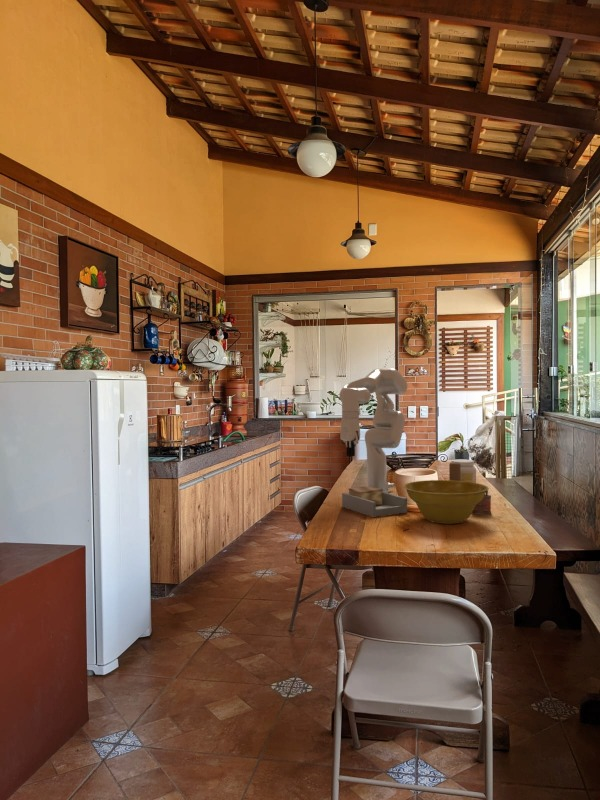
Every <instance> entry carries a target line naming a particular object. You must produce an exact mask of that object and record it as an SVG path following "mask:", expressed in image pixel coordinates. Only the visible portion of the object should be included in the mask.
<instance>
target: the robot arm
mask: <svg viewBox="0 0 600 800" xmlns="http://www.w3.org/2000/svg"><path fill="white" fill-rule="evenodd" d="M407 391H408V382H407V379H406V378H405V377H404V376H403V375H402V374H401V372H400V371H399V370H397V369H395V368H392V367H391V368H389V367H386V368H383V367H382V368H376V369H373V370H372V371H370V372H369V373H368V374H367V375H366V376H365V377H363V378H359V379H357V380H354V381H351V382H348V383H347V384H346V385H344V386H343V387H342V388H341V390H340V392H339V400H340V401H341V420H340V433H339V434H340V435H339V436H340V437H339V438H340V440H341V441H343V443H345V447H346V457H355V456H356V454H355V453H356V447H357V445H358V444H359V442H360V441H359V440H361V425H360V411H359V410H360V408H359V407H360V405H363V404H368V403H369V402H370V400H371V394H374V393H375V396H376V400H377V401H376V402H377V404H376V408H375V412H374V415H373V419H372V426H373V428H372V427H371V428H369V429H366V431H365V434H364V442H365V448H366V486H372V487H376V488H380V489H383V491H382V492H385V493H389V494H390V489H389V488H395V483H394V482H391V483H390V482H387V455H386V452H385V451H384V449H396V448H398V447H399V445H400V443H401V441H402V436H403V432H404V428H405V424H406V423H405V422H406V417H405V414H404V413H403V412H402V411H399V410H394V408H395V404H394V402H393V400H392V398H391V397H390V396H389V395H403V394H405V393H406V392H407Z"/></svg>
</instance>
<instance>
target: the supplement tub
mask: <svg viewBox="0 0 600 800" xmlns="http://www.w3.org/2000/svg"><path fill="white" fill-rule="evenodd" d="M450 463H460V464H461V481H465V482H473V483H477V468H476V467H475V466H474V465H475V461H474V460H473V459H466V458H464V459H463V458H462V459H461V458H459V459H451V462H450Z"/></svg>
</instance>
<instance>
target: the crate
mask: <svg viewBox="0 0 600 800" xmlns="http://www.w3.org/2000/svg"><path fill="white" fill-rule="evenodd" d="M382 491H383V489H380V488H376V487H372V486H367V485H366V486H359V487H350V488H348V494H350V495H353V496H356V497H360V498H363V499H367V500H370V501H373V502H376V505H380V504H382Z"/></svg>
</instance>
